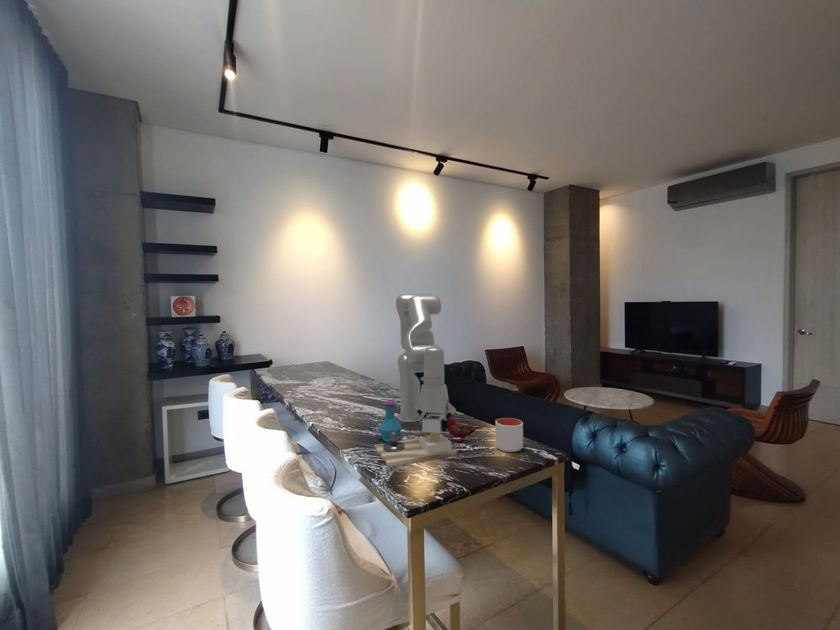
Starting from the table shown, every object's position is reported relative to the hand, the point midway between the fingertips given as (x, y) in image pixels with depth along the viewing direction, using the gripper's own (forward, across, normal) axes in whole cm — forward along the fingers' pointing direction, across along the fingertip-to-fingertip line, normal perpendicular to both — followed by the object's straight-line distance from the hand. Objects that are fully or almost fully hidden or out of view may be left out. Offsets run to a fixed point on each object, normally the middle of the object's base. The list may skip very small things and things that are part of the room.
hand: (434, 428), depth 140 cm
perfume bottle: (+9, -22, +6) cm, 25 cm away
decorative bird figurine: (+9, +7, +14) cm, 18 cm away
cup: (+9, +25, +14) cm, 30 cm away
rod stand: (+7, -14, -6) cm, 17 cm away
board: (+9, -7, -3) cm, 12 cm away
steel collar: (0, 0, 0) cm, 0 cm away
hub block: (+7, 0, 0) cm, 7 cm away
